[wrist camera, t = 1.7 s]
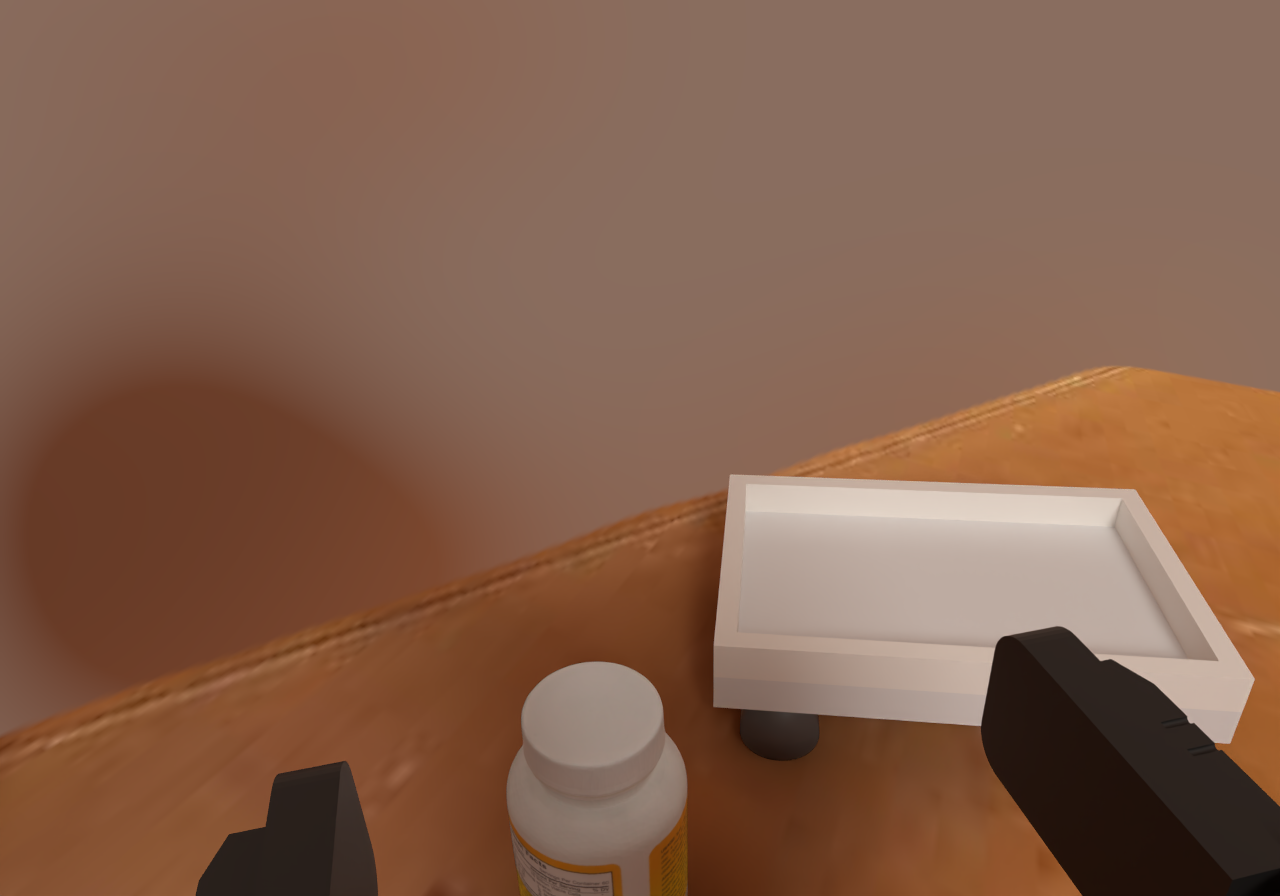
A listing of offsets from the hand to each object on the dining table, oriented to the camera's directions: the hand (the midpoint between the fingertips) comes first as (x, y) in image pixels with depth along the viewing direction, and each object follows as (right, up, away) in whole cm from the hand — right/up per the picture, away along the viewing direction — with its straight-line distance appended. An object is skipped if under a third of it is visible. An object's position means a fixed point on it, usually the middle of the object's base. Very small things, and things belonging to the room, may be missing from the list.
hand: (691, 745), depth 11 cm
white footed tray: (+12, -6, +29) cm, 32 cm away
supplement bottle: (-2, -12, +19) cm, 23 cm away
